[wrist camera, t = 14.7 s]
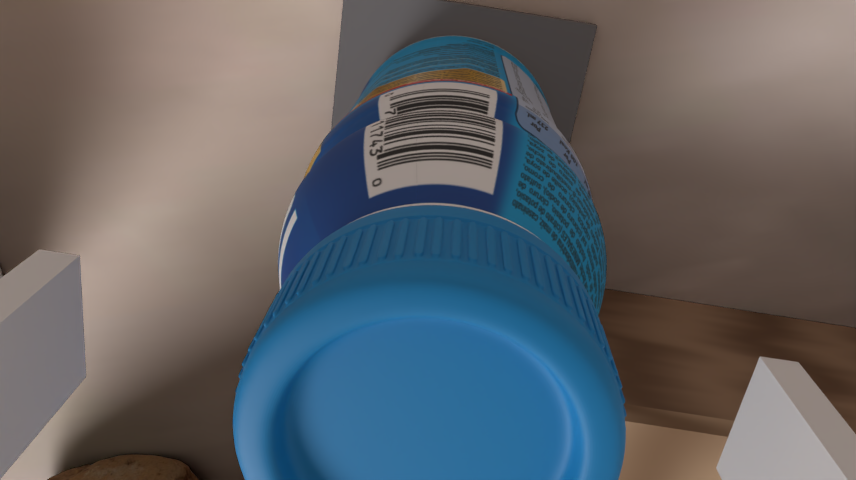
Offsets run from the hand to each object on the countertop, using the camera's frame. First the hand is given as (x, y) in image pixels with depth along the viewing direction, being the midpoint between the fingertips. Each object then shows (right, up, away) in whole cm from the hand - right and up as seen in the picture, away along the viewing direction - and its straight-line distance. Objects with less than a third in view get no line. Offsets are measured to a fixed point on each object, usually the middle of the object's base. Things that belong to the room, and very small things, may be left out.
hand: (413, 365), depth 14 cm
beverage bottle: (+1, +7, +16) cm, 18 cm away
